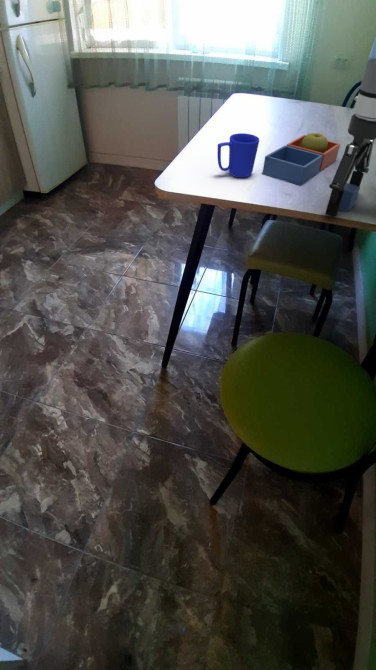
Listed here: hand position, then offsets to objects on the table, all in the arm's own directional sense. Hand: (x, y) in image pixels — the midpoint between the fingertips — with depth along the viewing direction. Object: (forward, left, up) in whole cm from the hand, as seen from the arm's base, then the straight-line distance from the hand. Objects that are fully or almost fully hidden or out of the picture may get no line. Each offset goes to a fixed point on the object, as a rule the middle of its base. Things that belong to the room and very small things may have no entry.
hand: (341, 204), depth 107 cm
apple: (+20, -24, 0) cm, 31 cm away
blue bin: (+20, -11, 0) cm, 22 cm away
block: (0, 0, 0) cm, 0 cm away
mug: (+32, +2, 0) cm, 32 cm away
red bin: (+20, -24, 0) cm, 31 cm away
